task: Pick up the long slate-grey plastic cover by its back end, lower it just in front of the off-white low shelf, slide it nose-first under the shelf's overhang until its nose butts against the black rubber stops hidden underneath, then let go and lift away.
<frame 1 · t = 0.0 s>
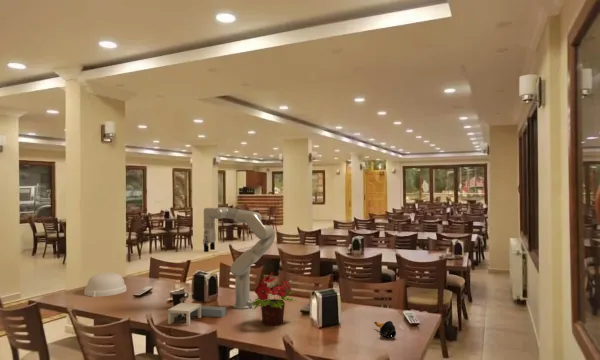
hand: (209, 250, 299), 37 cm above the table, tool pointing down, fingers open, 9 cm apart
low shelf: (186, 320, 263), on the table
grey cover: (206, 314, 275), on the table
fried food: (384, 334, 237), on the table
coffee mug: (180, 307, 292), on the table
potted plant: (271, 324, 256), on the table
dome cover: (105, 292, 337), on the table
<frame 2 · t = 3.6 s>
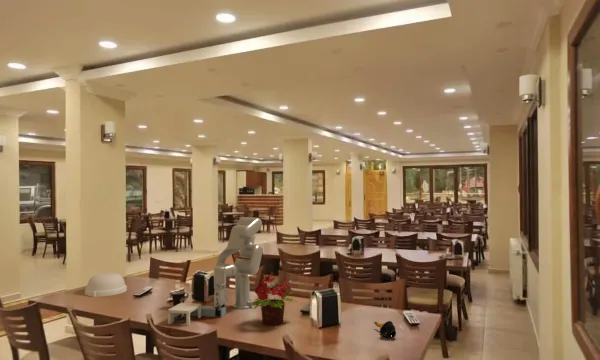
hand: (220, 314, 273), 1 cm above the table, tool pointing down, fingers closed on grey cover, 6 cm apart
grey cover: (206, 314, 275), on the table, touching gripper
everything else where it was.
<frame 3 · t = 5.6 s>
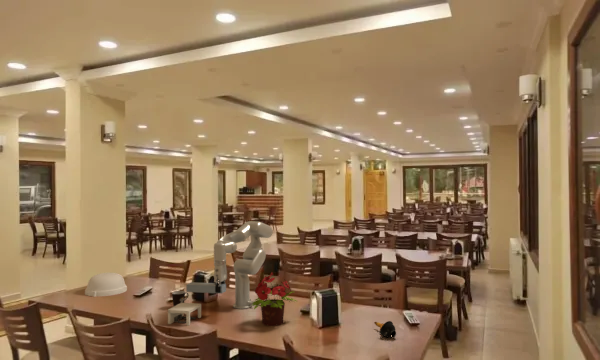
hand: (220, 290, 273), 15 cm above the table, tool pointing down, fingers closed on grey cover, 6 cm apart
grey cover: (206, 291, 275), point 15 cm above the table, touching gripper
everything else where it was.
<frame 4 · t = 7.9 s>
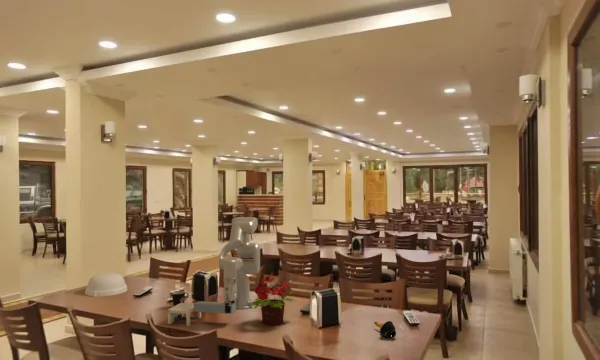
hand: (230, 311, 256), 8 cm above the table, tool pointing down, fingers closed on grey cover, 6 cm apart
grey cover: (214, 311, 258), point 7 cm above the table, touching gripper
everything else where it was.
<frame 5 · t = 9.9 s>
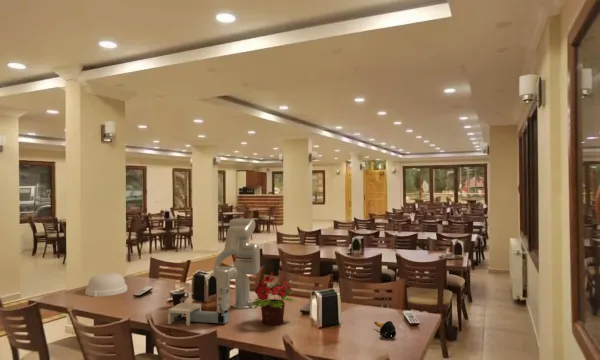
hand: (223, 320, 257), 2 cm above the table, tool pointing down, fingers closed on grey cover, 6 cm apart
grey cover: (208, 320, 260), point 1 cm above the table, touching gripper
everything else where it was.
when the fingers open (2 cm above the table, at t = 11.9 s): grey cover stays where it is, on the table.
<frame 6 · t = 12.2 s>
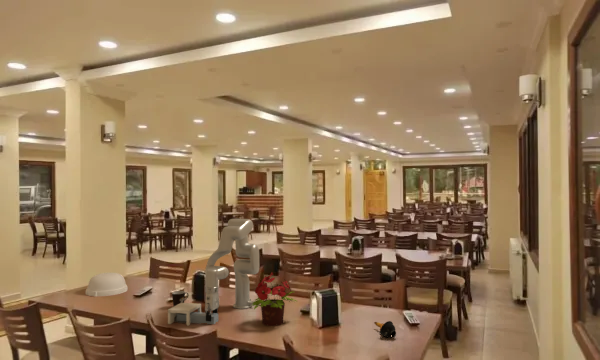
hand: (211, 318, 259), 2 cm above the table, tool pointing down, fingers open, 8 cm apart
grey cover: (197, 321, 261), on the table
everything else where it was.
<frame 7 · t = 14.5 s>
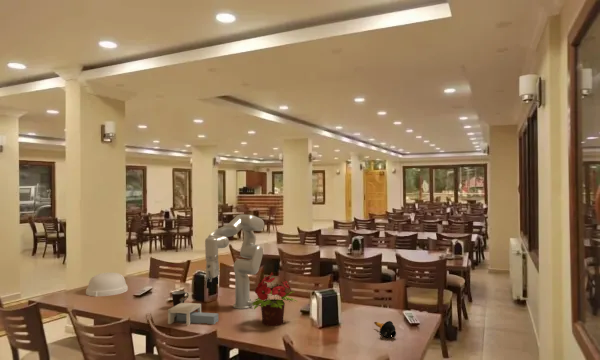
hand: (212, 286, 265), 20 cm above the table, tool pointing down, fingers open, 9 cm apart
nothing on the table moved.
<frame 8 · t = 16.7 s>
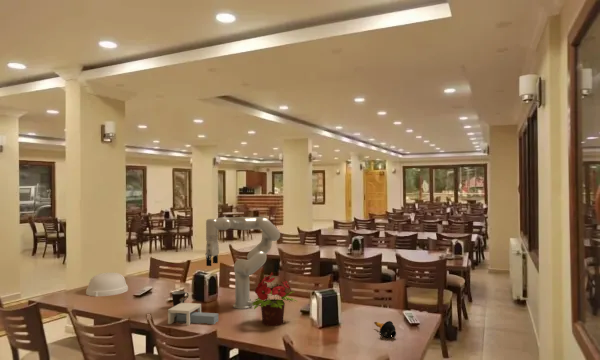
hand: (212, 264, 282), 30 cm above the table, tool pointing down, fingers open, 9 cm apart
at the end: grey cover 0.8 cm from the target spot, on the table; grey cover tilted 0°; the gripper is holding nothing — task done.
